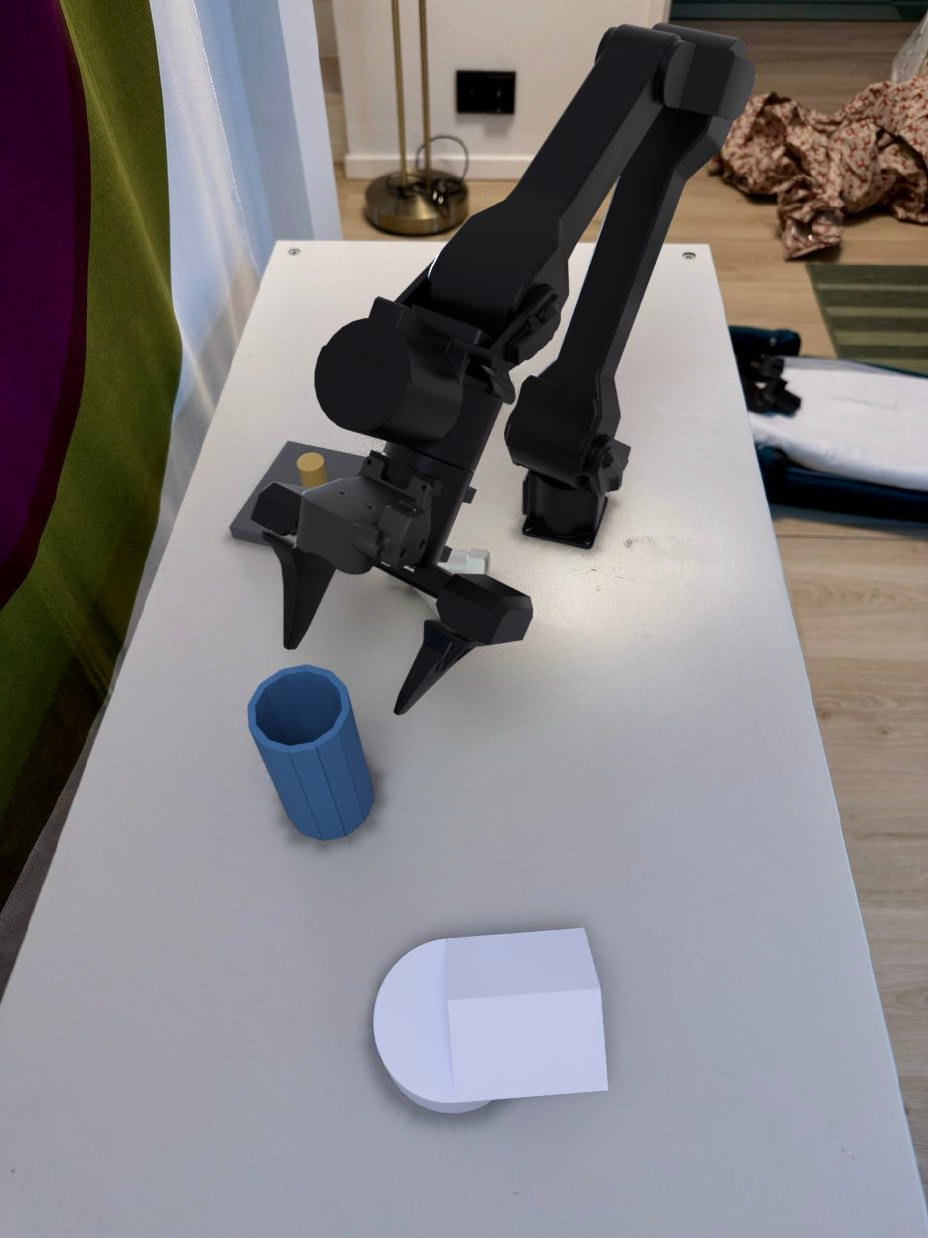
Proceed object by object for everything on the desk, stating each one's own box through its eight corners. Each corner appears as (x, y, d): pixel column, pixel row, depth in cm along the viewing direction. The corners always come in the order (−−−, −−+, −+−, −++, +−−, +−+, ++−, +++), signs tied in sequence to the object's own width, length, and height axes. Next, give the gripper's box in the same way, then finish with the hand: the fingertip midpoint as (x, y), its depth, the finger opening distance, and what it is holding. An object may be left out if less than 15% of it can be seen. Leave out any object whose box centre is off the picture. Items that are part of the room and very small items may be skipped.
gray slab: (404, 475, 85) (398, 430, 81) (354, 567, 78) (345, 523, 74) (290, 451, 88) (278, 406, 83) (232, 538, 81) (217, 494, 77)
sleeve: (385, 774, 66) (364, 679, 56) (352, 850, 62) (323, 763, 52) (309, 751, 67) (275, 655, 57) (272, 825, 64) (229, 735, 54)
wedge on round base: (580, 945, 58) (379, 961, 58) (588, 908, 52) (366, 925, 52) (603, 1101, 52) (380, 1119, 52) (614, 1078, 47) (366, 1098, 47)
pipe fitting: (475, 636, 74) (490, 571, 77) (473, 610, 70) (489, 543, 74) (381, 623, 75) (400, 559, 78) (375, 596, 72) (395, 531, 75)
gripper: (234, 376, 51) (151, 622, 54) (509, 501, 44) (394, 775, 47) (342, 410, 61) (266, 617, 65) (579, 517, 54) (480, 742, 58)
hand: (342, 680), depth 58 cm, fingers open, 9 cm apart
